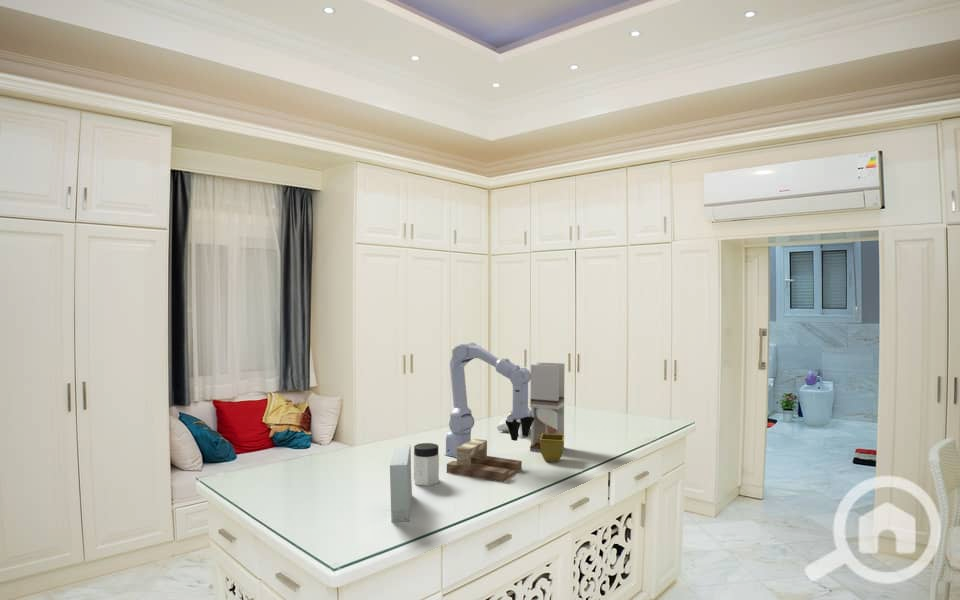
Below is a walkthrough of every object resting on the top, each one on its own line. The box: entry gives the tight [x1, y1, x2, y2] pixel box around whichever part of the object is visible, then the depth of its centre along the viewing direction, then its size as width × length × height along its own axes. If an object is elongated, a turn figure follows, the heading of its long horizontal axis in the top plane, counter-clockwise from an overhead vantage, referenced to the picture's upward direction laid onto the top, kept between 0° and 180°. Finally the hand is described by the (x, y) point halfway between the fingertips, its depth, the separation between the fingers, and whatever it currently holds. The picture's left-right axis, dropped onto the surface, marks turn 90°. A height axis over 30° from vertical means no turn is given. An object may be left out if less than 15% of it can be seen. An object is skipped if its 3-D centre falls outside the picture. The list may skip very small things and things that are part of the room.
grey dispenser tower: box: [529, 361, 566, 453], centre depth 227 cm, size 11×11×35 cm
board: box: [446, 454, 523, 483], centre depth 198 cm, size 22×16×3 cm
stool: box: [456, 438, 488, 466], centre depth 200 cm, size 14×5×6 cm, turn 153°
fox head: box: [496, 407, 531, 439], centre depth 255 cm, size 13×17×20 cm
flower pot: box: [540, 434, 565, 463], centre depth 211 cm, size 9×9×9 cm
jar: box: [413, 442, 440, 487], centre depth 185 cm, size 9×8×12 cm
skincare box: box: [389, 444, 413, 523], centre depth 162 cm, size 21×5×16 cm, turn 5°
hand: (519, 438), depth 204 cm, fingers open, 7 cm apart
